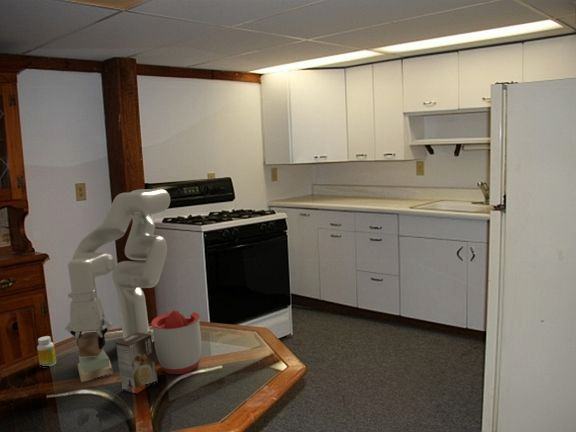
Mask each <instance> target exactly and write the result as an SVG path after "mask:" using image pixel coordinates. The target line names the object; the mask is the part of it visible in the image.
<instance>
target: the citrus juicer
mask: <svg viewBox="0 0 576 432" xmlns="http://www.w3.org/2000/svg"><path fill="white" fill-rule="evenodd" d="M200 319H201V318H200V314H199V313H197V312H195V311H193V312H192V313H191V314H190V317H188V318H186V317H185V316H184V315H183V314H182V313H180V311H179V310H175V309H173V311H170V312H166V313H162V314H160V315H159V316H156V317H155V318H153V319H152V320H151V323H150V324H151V326H152V329H153V335H154V342H153V343H154V349H155V353H156V357H157V360H158V362H159V365H160V367H161V369H162V370H163V371H164V372H165V374H169V375H181V374H188V373H189V372H192V371H193V370H195V369H196V368H197V367H198V366H199V364H200V360H201V354H202V335H201V325H200Z"/></svg>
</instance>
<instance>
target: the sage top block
mask: <svg viewBox="0 0 576 432" xmlns="http://www.w3.org/2000/svg"><path fill="white" fill-rule="evenodd" d="M108 358H109V356H108V355H107V353H106V352H105V349H103V351H102V352H101V353H100V354H99V355H98V356H85V357H80V355H79V356H78V359H79V363H80V365H81V367H82V369H83V371H84V373H87V372H90V371H94V370H98V369H101V368H105V367H109V360H110V358H109V359H108Z"/></svg>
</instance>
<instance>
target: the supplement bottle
mask: <svg viewBox="0 0 576 432" xmlns="http://www.w3.org/2000/svg"><path fill="white" fill-rule="evenodd" d="M37 343H38V345H37V346H36V350H37V356H38V363H39V366H40V365H42V366H49V367H52V366H55V364H56V363H57V357H56V350H55V344H54V343H53V342H52V339H51V336H49V335H45V336H41V337H39V338H38V339H37Z"/></svg>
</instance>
